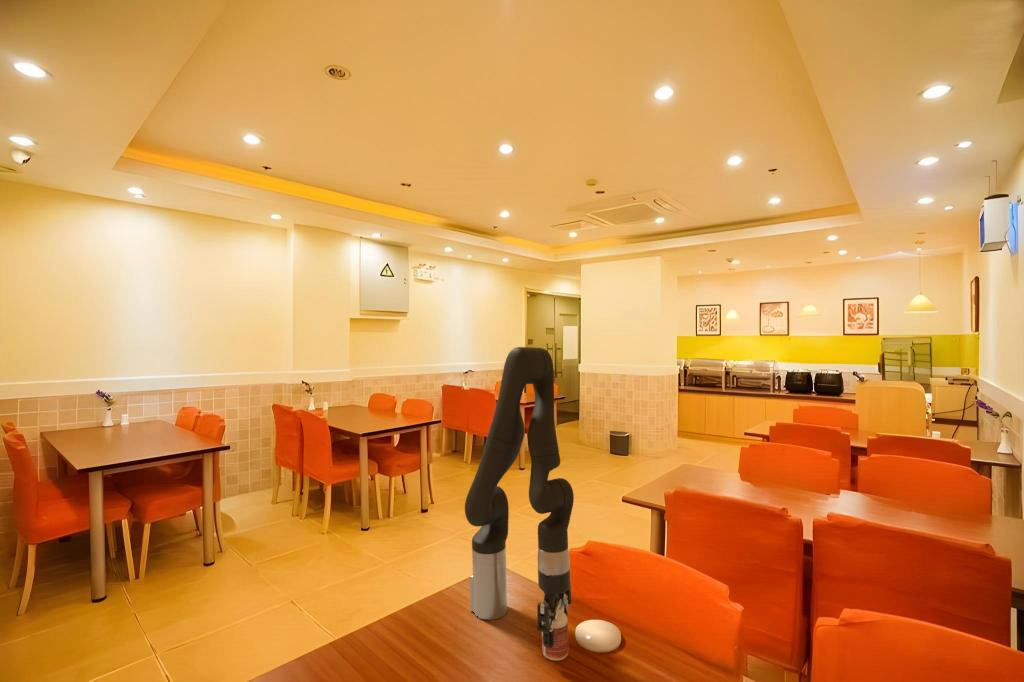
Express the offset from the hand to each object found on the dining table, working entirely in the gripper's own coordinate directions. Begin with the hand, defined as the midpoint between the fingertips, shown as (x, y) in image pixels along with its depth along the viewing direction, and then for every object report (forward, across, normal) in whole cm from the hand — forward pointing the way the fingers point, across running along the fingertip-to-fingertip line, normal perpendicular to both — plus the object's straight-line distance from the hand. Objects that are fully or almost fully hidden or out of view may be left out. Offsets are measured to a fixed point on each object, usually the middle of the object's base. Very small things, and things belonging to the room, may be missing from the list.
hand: (556, 636), depth 108 cm
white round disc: (+4, -10, +7) cm, 13 cm away
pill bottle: (+4, 0, 0) cm, 4 cm away
